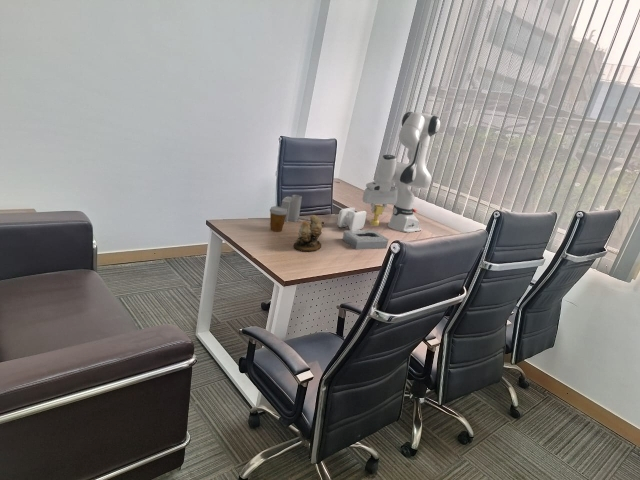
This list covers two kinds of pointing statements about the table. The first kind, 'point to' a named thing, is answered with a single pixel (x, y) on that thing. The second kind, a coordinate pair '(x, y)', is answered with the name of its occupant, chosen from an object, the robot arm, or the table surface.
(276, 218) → the disposable coffee cup
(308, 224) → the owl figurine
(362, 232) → the keyhole plate
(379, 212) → the peg
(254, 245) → the table surface
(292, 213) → the electronic device
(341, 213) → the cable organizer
